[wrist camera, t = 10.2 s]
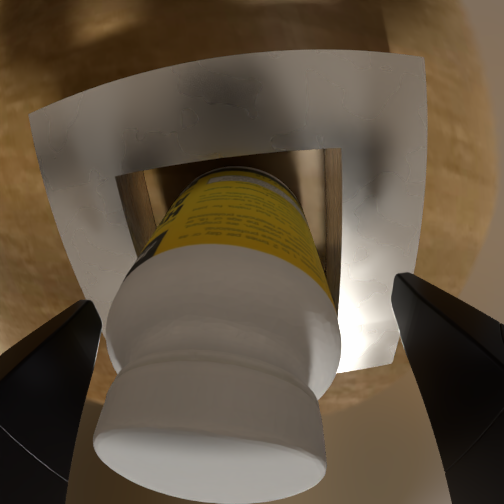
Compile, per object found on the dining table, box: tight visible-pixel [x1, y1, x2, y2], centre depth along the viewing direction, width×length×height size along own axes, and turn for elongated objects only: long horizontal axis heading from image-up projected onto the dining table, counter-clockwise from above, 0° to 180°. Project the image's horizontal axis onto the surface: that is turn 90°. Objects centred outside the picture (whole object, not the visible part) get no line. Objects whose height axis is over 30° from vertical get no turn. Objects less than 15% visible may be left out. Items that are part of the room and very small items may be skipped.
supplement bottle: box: [93, 166, 342, 504], centre depth 8 cm, size 5×5×10 cm
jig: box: [29, 50, 427, 373], centre depth 12 cm, size 13×13×2 cm
